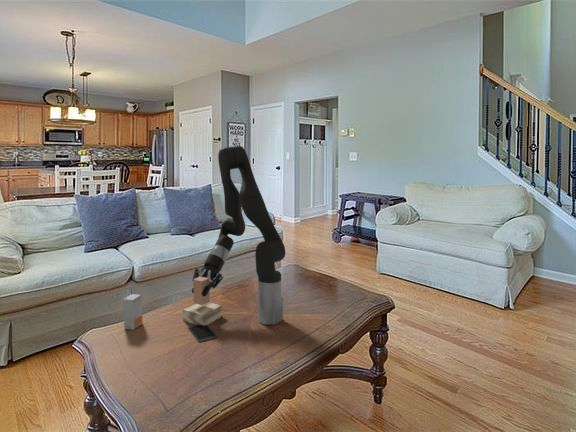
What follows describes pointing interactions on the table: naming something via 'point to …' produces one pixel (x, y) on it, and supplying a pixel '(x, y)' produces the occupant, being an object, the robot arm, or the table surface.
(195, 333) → the cell phone
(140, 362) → the table surface
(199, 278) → the terracotta block
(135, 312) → the skincare box
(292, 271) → the table surface
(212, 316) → the birch riser
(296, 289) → the table surface
